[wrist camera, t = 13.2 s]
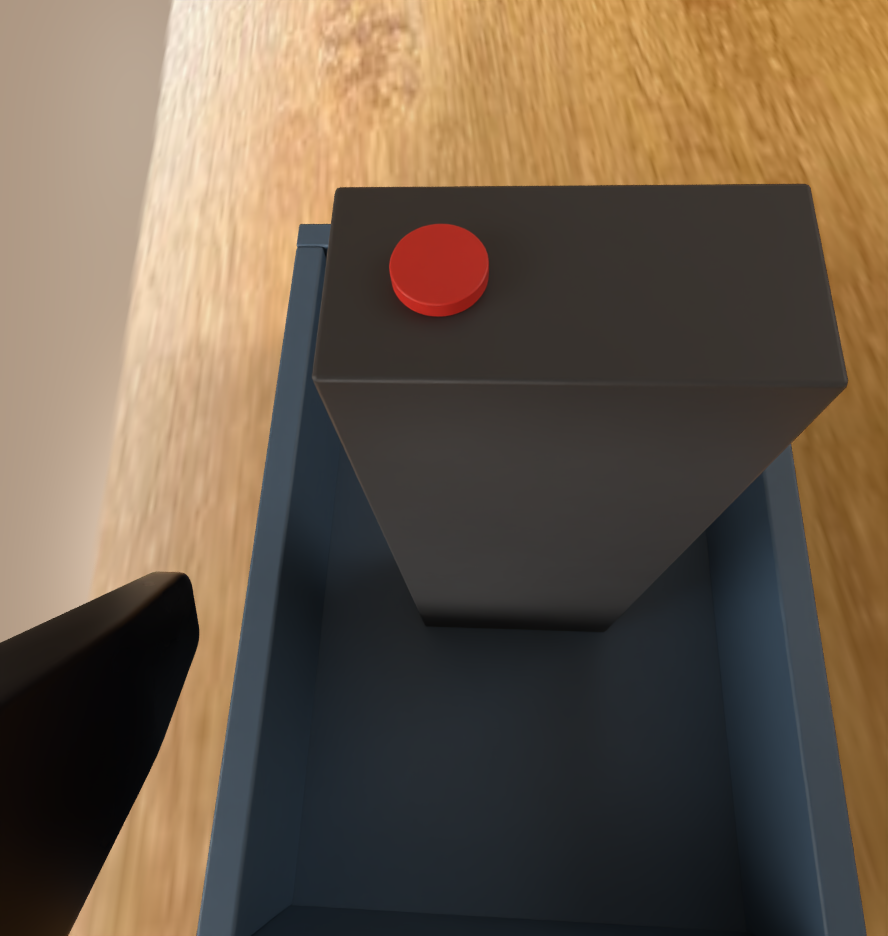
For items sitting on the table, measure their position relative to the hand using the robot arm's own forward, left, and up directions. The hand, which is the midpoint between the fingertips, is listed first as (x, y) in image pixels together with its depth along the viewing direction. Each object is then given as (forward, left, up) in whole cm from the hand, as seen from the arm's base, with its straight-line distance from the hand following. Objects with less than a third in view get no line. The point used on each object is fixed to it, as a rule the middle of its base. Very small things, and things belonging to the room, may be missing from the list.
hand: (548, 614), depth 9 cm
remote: (+1, +2, -10) cm, 10 cm away
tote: (+1, +2, -10) cm, 11 cm away
